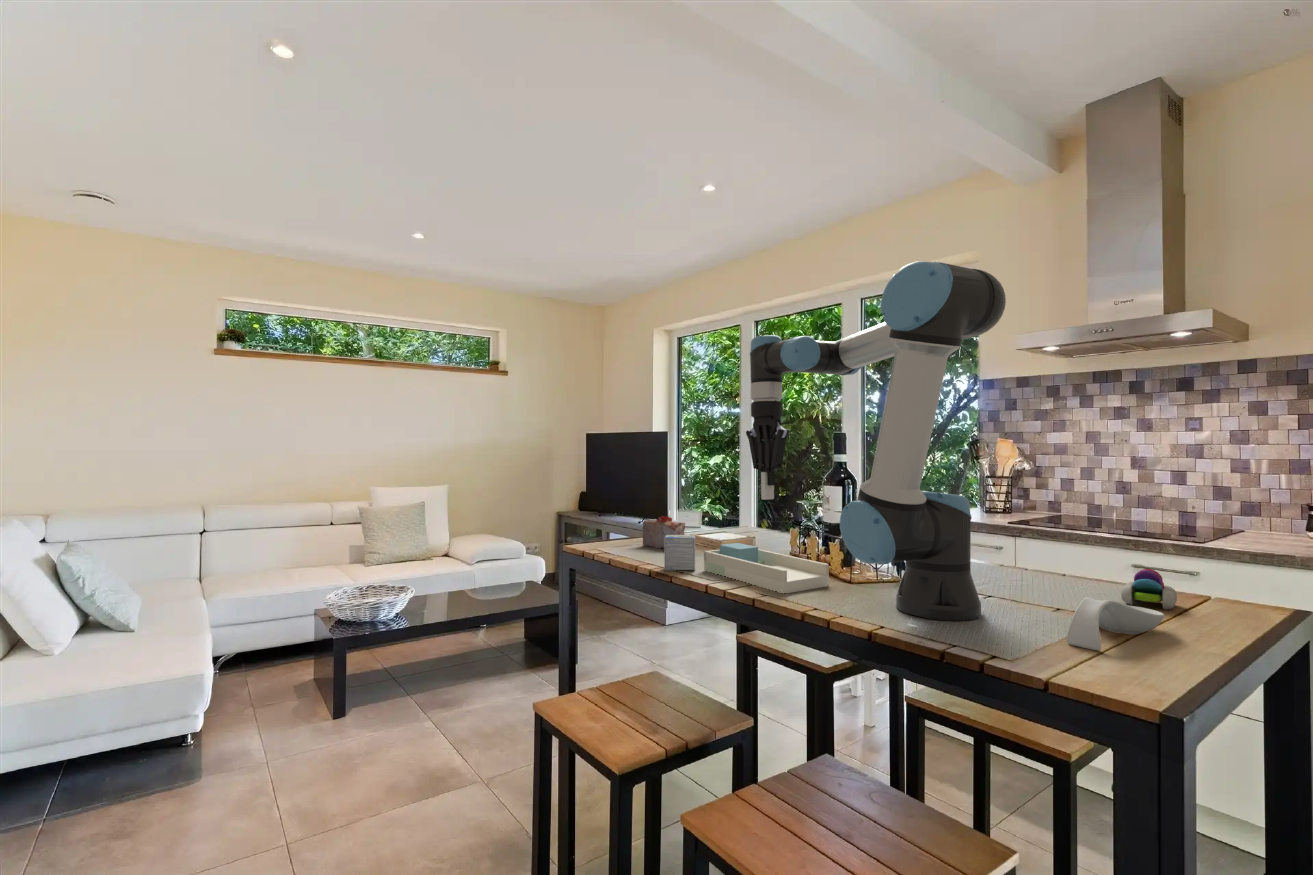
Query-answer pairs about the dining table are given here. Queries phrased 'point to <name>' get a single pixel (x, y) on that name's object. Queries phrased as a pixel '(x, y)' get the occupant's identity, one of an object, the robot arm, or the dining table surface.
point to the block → (740, 551)
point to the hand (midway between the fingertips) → (767, 499)
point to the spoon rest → (1108, 621)
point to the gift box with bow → (660, 530)
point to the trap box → (770, 571)
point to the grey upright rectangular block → (679, 552)
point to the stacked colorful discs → (1149, 589)
